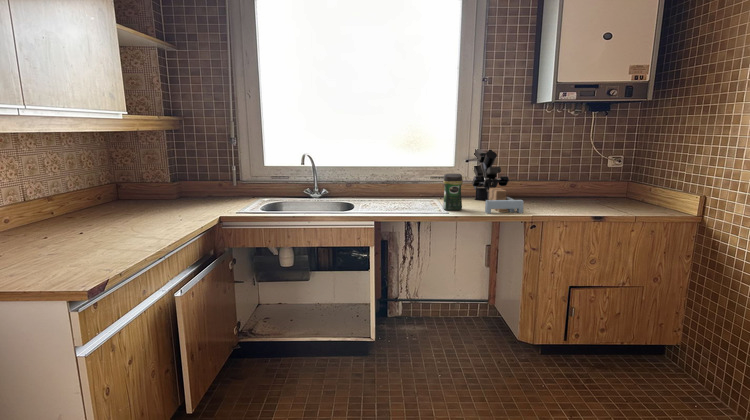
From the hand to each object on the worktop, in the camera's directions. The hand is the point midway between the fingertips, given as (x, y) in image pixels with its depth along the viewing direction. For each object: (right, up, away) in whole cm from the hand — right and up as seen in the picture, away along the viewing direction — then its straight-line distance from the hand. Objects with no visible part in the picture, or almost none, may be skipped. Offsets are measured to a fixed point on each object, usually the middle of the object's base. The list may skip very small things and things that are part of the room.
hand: (493, 193), depth 233 cm
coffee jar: (-23, -9, -8) cm, 26 cm away
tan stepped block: (+1, -8, -7) cm, 11 cm away
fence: (+1, -9, -11) cm, 15 cm away
